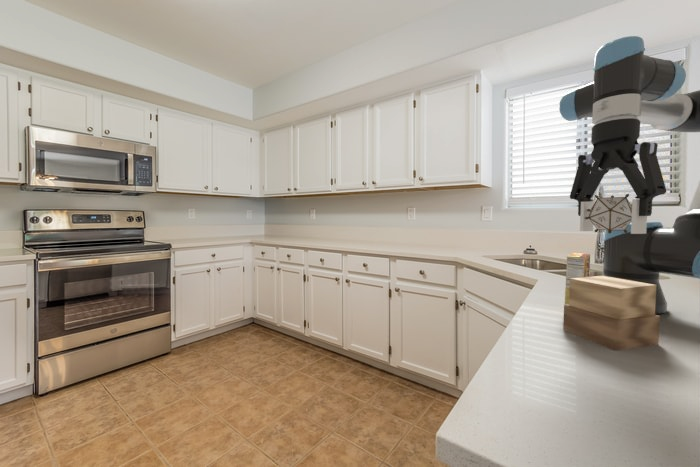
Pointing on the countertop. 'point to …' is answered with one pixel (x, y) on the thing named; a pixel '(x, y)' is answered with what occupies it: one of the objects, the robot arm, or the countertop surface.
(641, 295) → the top block
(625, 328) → the bottom block
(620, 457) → the countertop surface
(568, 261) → the candy box
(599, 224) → the game die
